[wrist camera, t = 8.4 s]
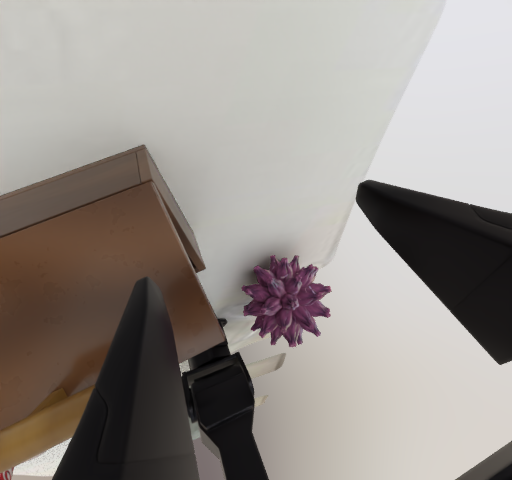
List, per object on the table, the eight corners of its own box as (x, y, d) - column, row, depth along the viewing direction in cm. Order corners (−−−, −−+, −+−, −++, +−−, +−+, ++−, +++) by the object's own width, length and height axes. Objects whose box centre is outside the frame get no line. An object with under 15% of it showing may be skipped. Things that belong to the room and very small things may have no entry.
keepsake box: (193, 233, 25) (206, 268, 22) (53, 292, 23) (44, 341, 20) (144, 143, 18) (152, 178, 14) (-71, 220, 16) (-119, 280, 12)
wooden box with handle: (225, 335, 16) (229, 380, 11) (-9, 452, 14) (-121, 564, 9) (154, 183, 14) (126, 161, 10) (-114, 285, 12) (-304, 317, 8)
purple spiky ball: (261, 224, 31) (324, 250, 36) (218, 287, 35) (280, 302, 41) (295, 291, 22) (371, 312, 27) (232, 364, 26) (308, 368, 32)
